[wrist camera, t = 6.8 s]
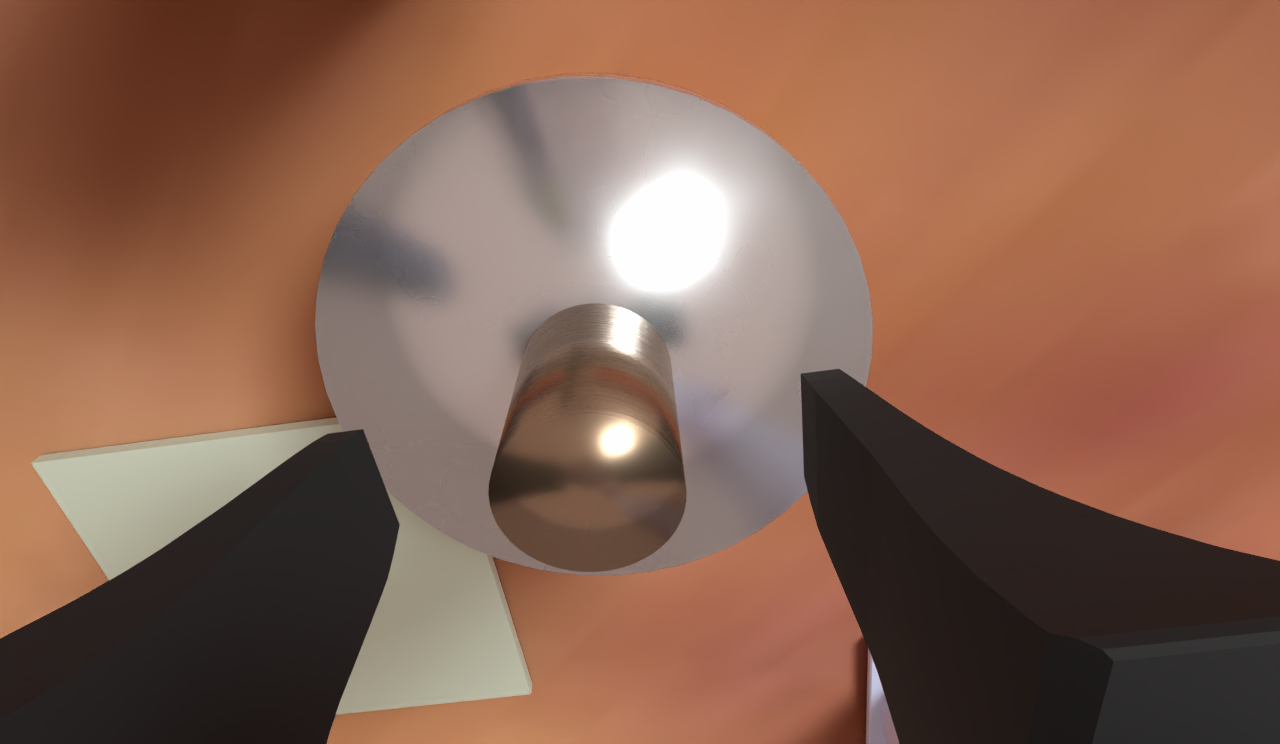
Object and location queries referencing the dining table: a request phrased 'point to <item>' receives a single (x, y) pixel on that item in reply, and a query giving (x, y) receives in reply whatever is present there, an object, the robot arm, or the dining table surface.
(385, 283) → the lid
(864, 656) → the dining table surface
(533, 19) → the dining table surface
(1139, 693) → the robot arm
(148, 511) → the mat
